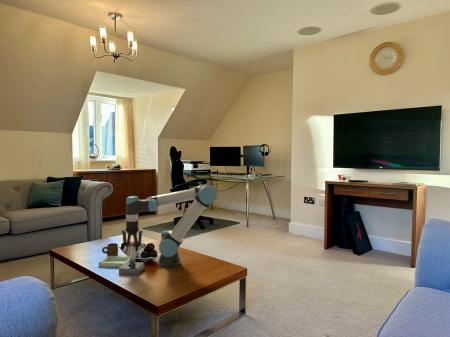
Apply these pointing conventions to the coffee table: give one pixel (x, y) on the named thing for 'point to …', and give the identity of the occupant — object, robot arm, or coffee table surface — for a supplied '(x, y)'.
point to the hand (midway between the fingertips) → (132, 256)
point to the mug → (111, 249)
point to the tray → (113, 261)
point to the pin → (131, 254)
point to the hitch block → (131, 269)
